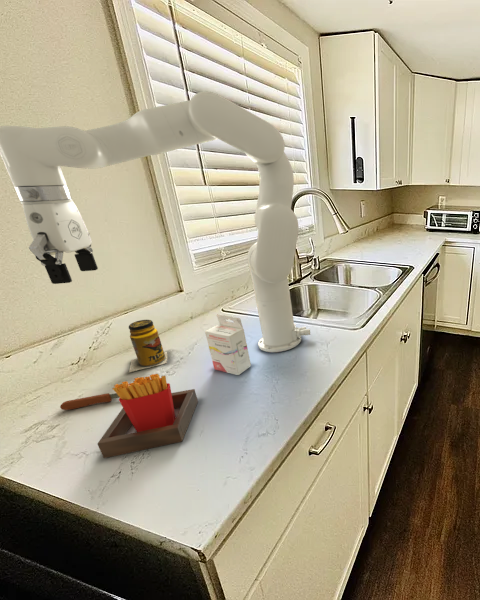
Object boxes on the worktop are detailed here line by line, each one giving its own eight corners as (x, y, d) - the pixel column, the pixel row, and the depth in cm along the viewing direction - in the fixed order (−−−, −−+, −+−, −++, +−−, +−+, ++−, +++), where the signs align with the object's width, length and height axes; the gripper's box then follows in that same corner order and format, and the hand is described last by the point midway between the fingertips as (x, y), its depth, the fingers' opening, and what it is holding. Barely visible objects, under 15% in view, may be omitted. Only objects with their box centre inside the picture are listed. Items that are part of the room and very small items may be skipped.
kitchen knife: (61, 412, 72) (58, 404, 72) (65, 408, 73) (61, 401, 73) (145, 395, 77) (143, 388, 77) (147, 392, 79) (145, 385, 78)
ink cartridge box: (213, 370, 87) (200, 320, 82) (227, 360, 92) (216, 313, 86) (238, 376, 85) (227, 325, 79) (252, 366, 89) (242, 317, 84)
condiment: (167, 363, 91) (155, 324, 86) (128, 373, 86) (114, 332, 82) (167, 352, 96) (156, 315, 92) (131, 360, 92) (117, 322, 88)
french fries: (181, 414, 71) (166, 367, 67) (178, 426, 68) (162, 377, 63) (133, 427, 68) (114, 378, 63) (128, 440, 64) (108, 389, 60)
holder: (198, 401, 75) (194, 388, 74) (182, 441, 64) (177, 427, 63) (132, 413, 72) (127, 400, 70) (103, 458, 60) (97, 443, 59)
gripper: (37, 197, 59) (73, 286, 65) (91, 192, 74) (116, 265, 81) (-16, 199, 57) (26, 290, 63) (51, 193, 73) (79, 267, 79)
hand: (76, 276), depth 72 cm, fingers open, 9 cm apart
